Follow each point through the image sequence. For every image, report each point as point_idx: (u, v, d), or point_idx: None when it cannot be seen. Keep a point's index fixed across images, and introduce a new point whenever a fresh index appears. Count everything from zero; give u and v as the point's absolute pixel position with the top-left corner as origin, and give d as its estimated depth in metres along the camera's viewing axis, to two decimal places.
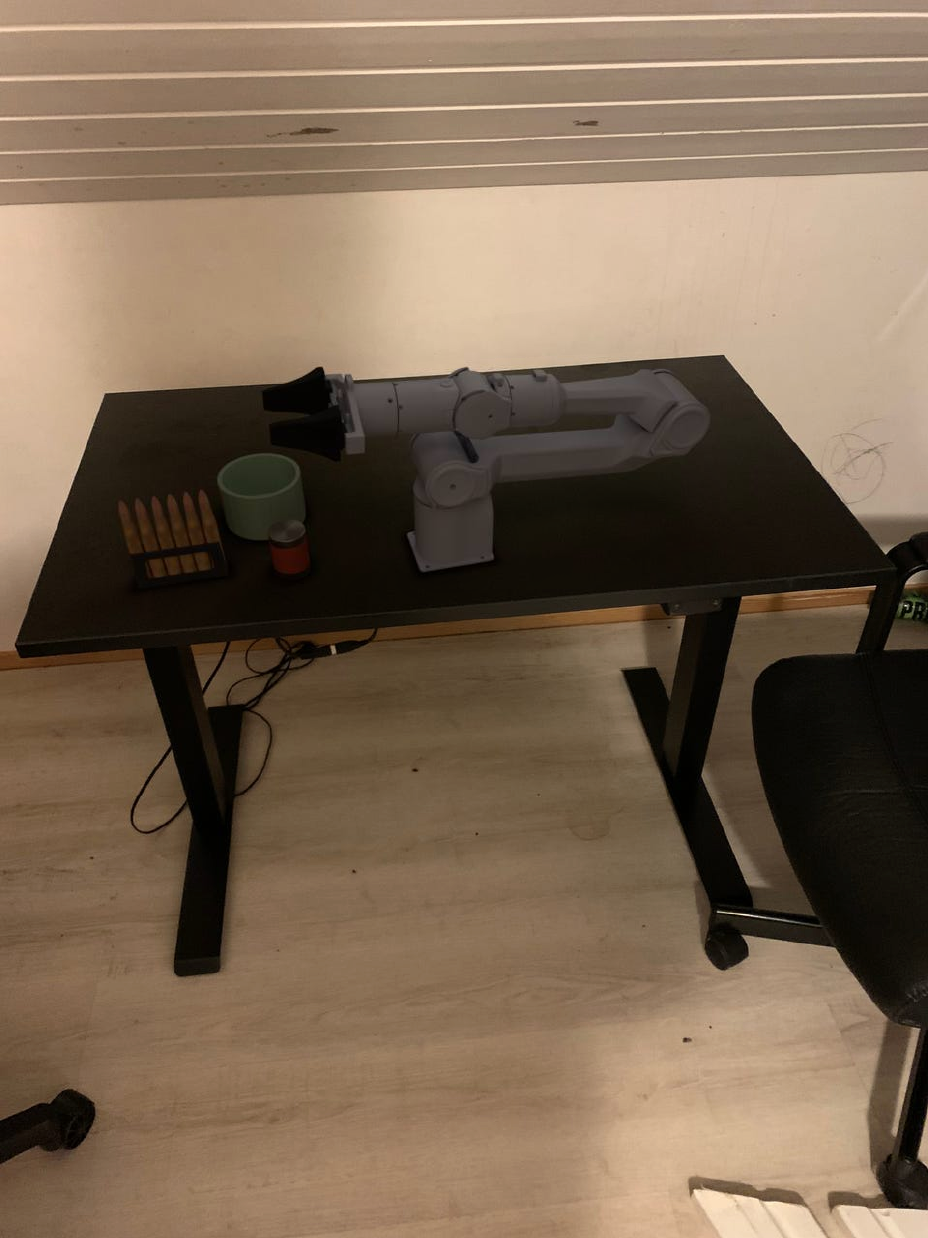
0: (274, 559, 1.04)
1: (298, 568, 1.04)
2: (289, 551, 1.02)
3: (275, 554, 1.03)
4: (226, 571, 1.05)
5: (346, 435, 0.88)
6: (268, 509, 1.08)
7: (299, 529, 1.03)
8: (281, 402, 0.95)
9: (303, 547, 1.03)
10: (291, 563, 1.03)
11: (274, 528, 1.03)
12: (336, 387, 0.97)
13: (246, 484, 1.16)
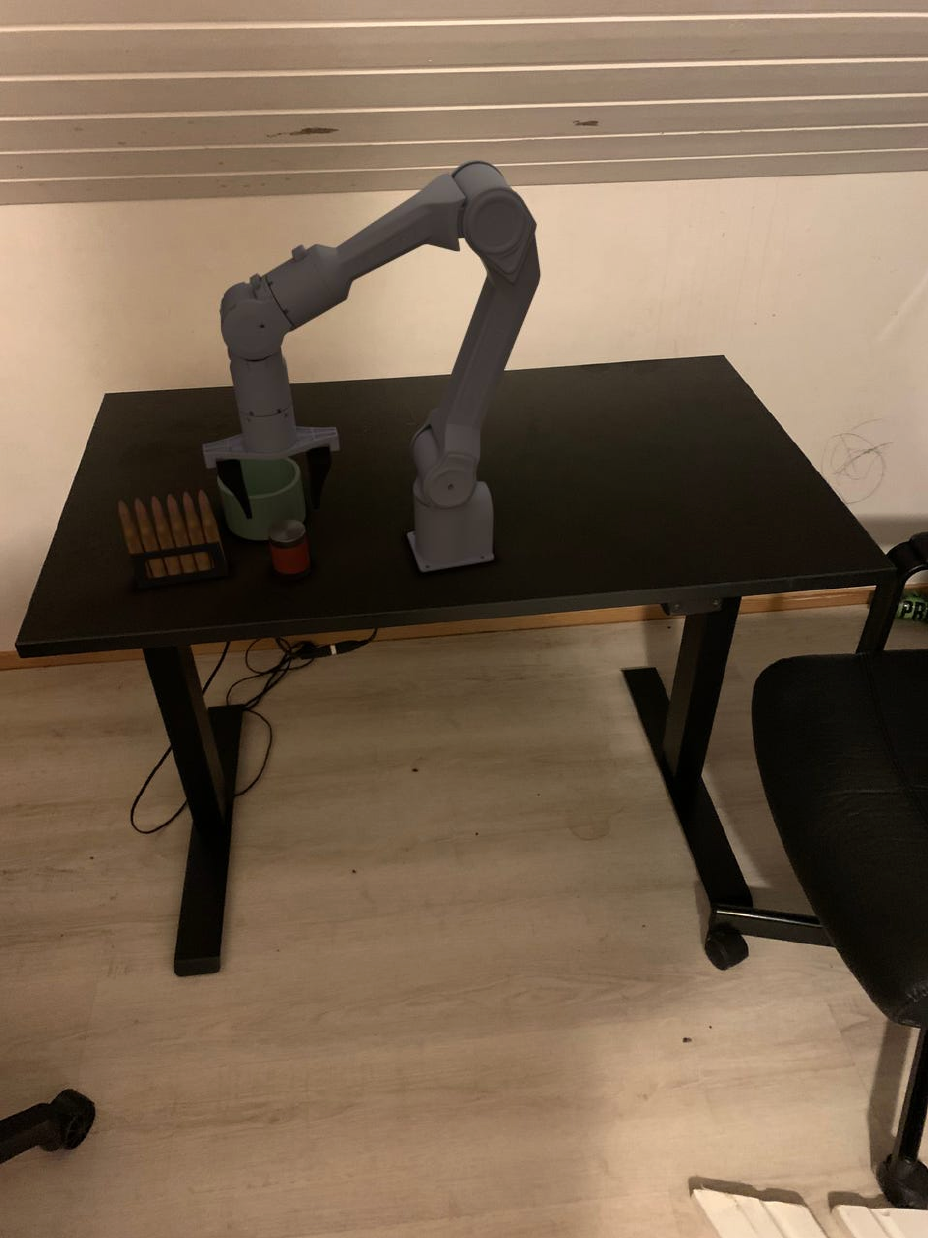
0: (274, 559, 1.04)
1: (298, 568, 1.04)
2: (289, 551, 1.02)
3: (275, 554, 1.03)
4: (226, 571, 1.05)
5: None
6: (268, 509, 1.08)
7: (299, 529, 1.03)
8: (311, 491, 1.00)
9: (303, 547, 1.03)
10: (291, 563, 1.03)
11: (274, 528, 1.03)
12: None
13: (246, 484, 1.16)
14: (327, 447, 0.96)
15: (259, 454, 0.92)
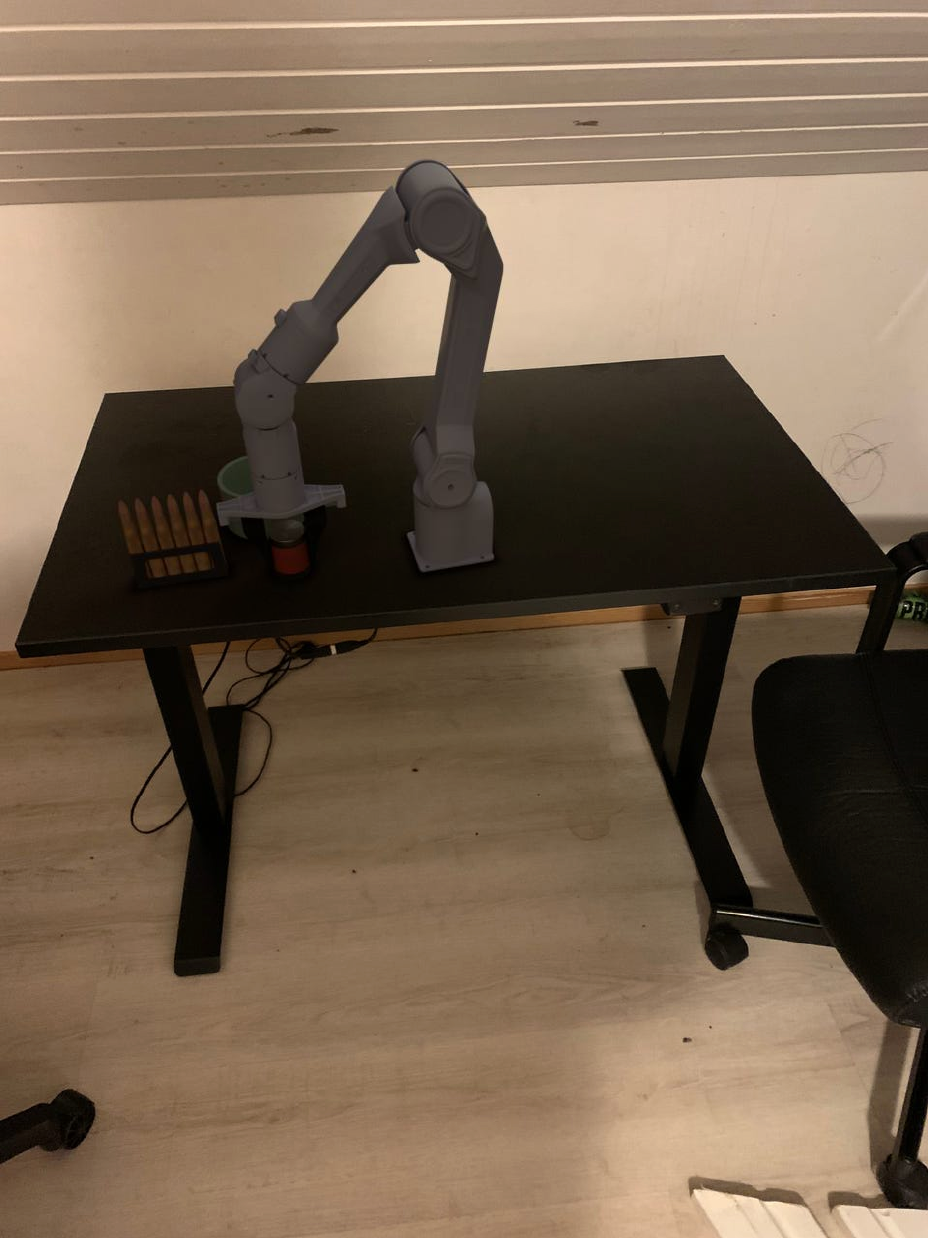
0: (274, 559, 1.04)
1: (298, 568, 1.04)
2: (289, 551, 1.02)
3: (275, 554, 1.03)
4: (226, 571, 1.05)
5: None
6: None
7: (299, 529, 1.03)
8: (308, 546, 1.05)
9: (303, 547, 1.03)
10: (291, 563, 1.03)
11: (273, 528, 1.03)
12: None
13: (246, 484, 1.16)
14: (323, 506, 1.01)
15: (270, 513, 0.97)
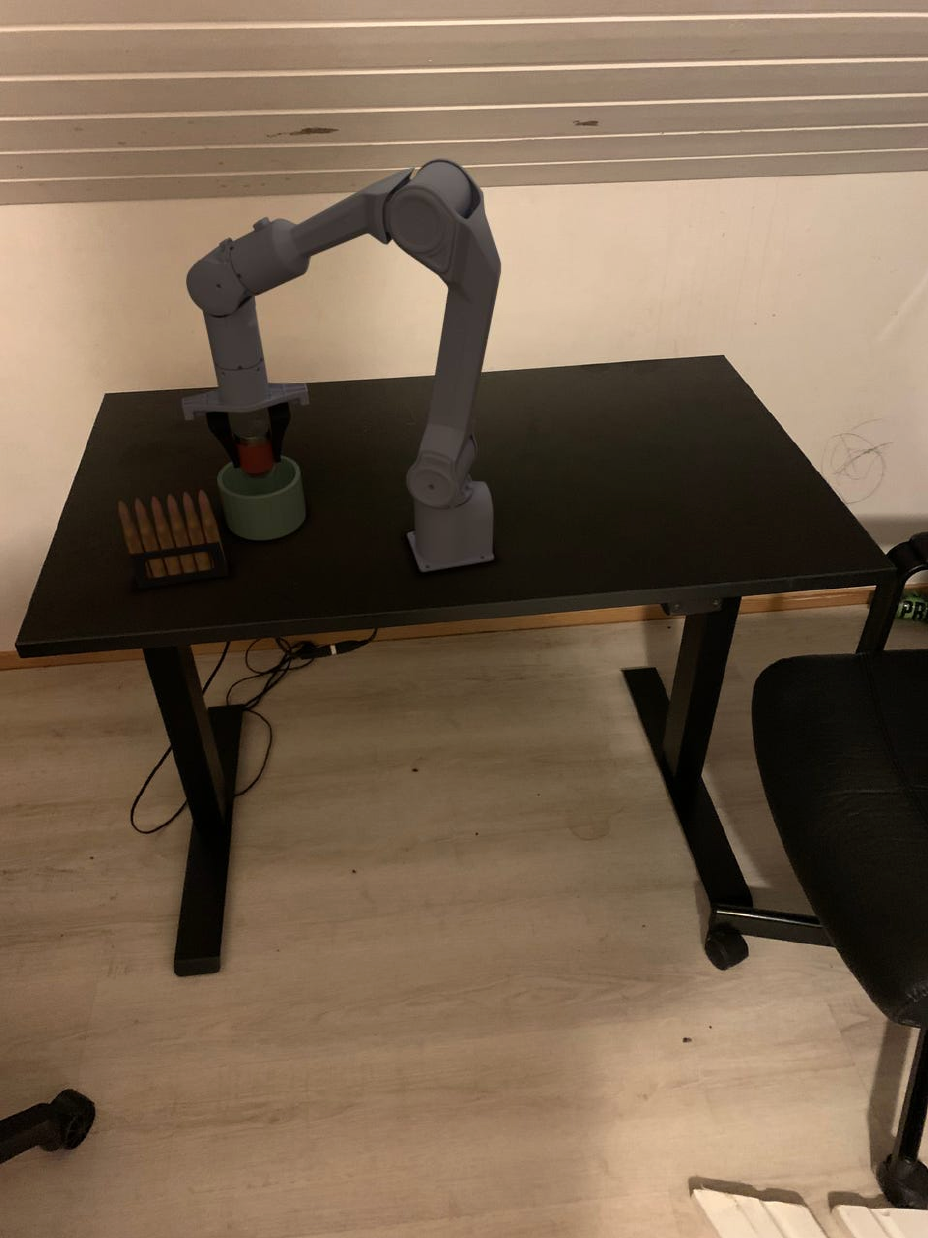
0: (239, 458, 1.06)
1: (263, 467, 1.06)
2: (253, 449, 1.04)
3: (240, 452, 1.05)
4: (226, 571, 1.05)
5: None
6: (268, 509, 1.08)
7: (264, 427, 1.05)
8: (273, 446, 1.07)
9: (267, 445, 1.05)
10: (256, 462, 1.06)
11: (239, 426, 1.05)
12: None
13: (246, 484, 1.16)
14: (286, 403, 1.03)
15: (234, 406, 1.00)
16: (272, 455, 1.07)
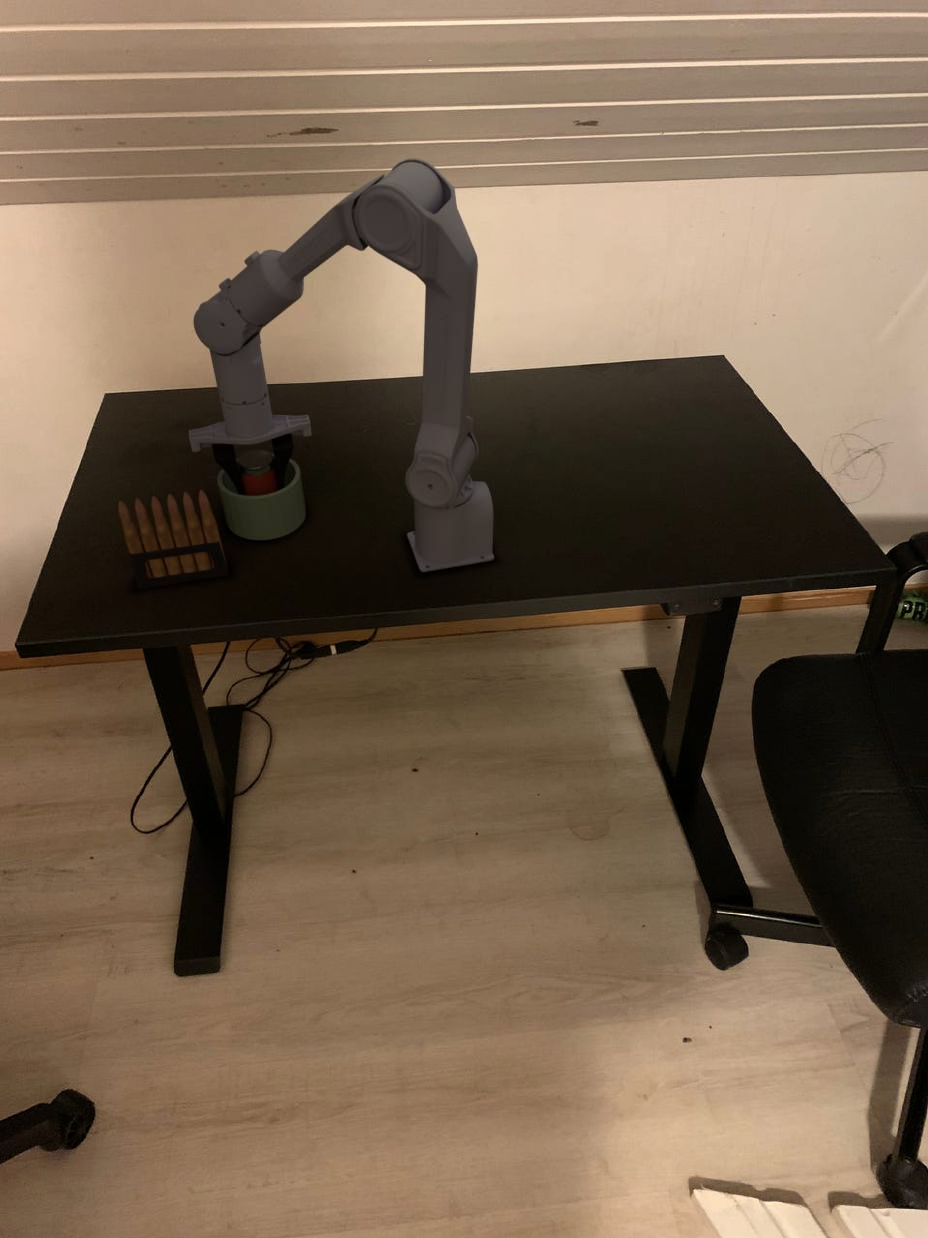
0: (244, 486, 1.10)
1: None
2: (258, 478, 1.08)
3: (244, 481, 1.09)
4: (226, 571, 1.05)
5: None
6: (268, 509, 1.08)
7: (267, 457, 1.09)
8: (276, 474, 1.11)
9: (271, 474, 1.09)
10: (260, 490, 1.09)
11: (243, 456, 1.09)
12: None
13: None
14: (289, 434, 1.07)
15: (239, 439, 1.04)
16: (276, 484, 1.11)
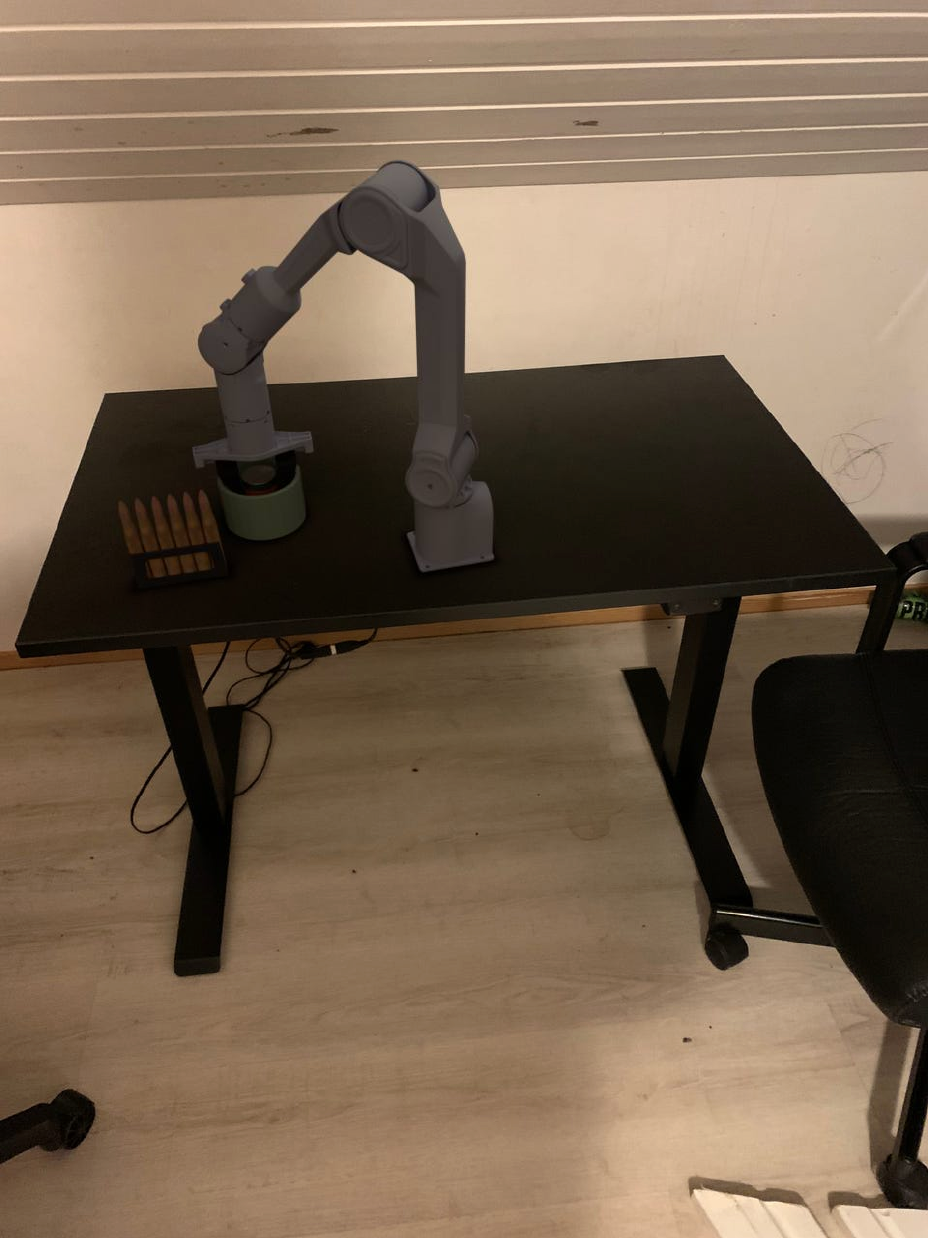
0: None
1: None
2: (260, 493, 1.10)
3: None
4: (226, 571, 1.05)
5: None
6: (268, 509, 1.08)
7: (270, 473, 1.10)
8: None
9: (274, 490, 1.11)
10: None
11: (246, 472, 1.11)
12: None
13: None
14: (293, 451, 1.09)
15: (242, 455, 1.05)
16: None
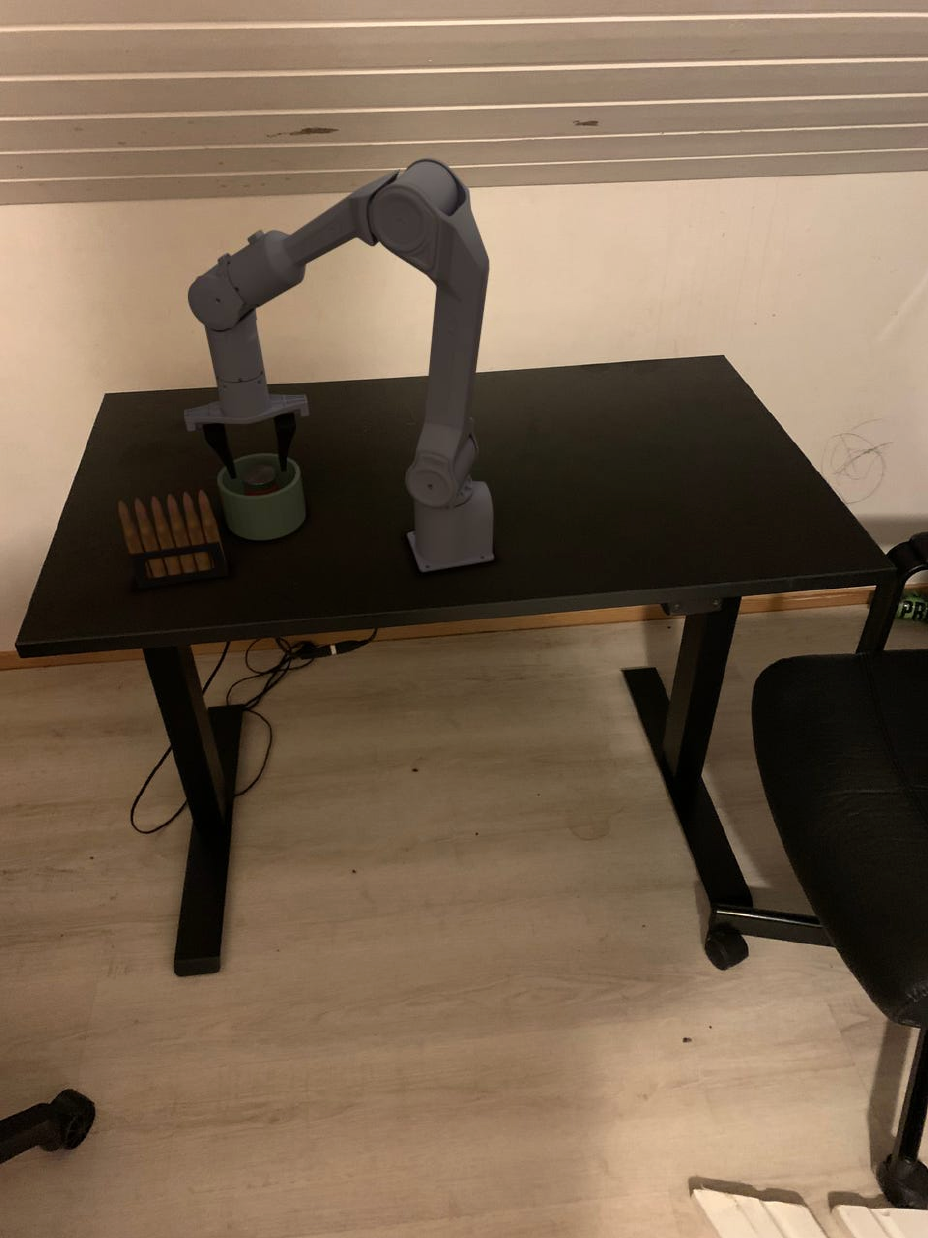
0: None
1: None
2: (261, 493, 1.10)
3: None
4: (226, 571, 1.05)
5: None
6: (268, 509, 1.08)
7: (270, 473, 1.10)
8: (279, 455, 1.09)
9: (274, 490, 1.11)
10: None
11: (247, 472, 1.11)
12: None
13: None
14: (292, 413, 1.05)
15: (235, 418, 1.02)
16: None
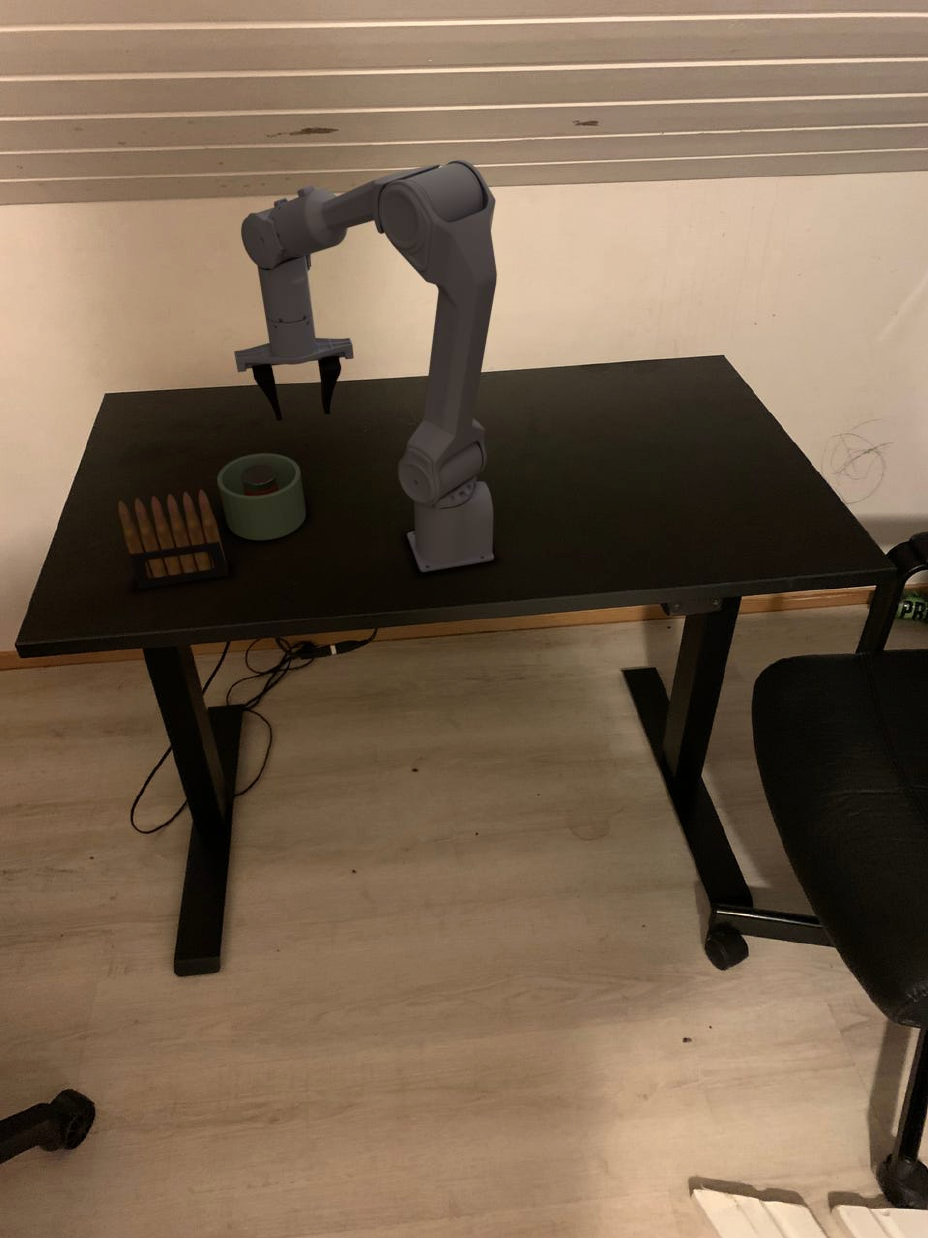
0: None
1: None
2: (261, 493, 1.10)
3: None
4: (226, 571, 1.05)
5: None
6: (268, 509, 1.08)
7: (270, 473, 1.10)
8: (323, 398, 1.13)
9: (274, 490, 1.11)
10: None
11: (247, 472, 1.11)
12: None
13: None
14: (337, 356, 1.09)
15: (284, 358, 1.06)
16: None
